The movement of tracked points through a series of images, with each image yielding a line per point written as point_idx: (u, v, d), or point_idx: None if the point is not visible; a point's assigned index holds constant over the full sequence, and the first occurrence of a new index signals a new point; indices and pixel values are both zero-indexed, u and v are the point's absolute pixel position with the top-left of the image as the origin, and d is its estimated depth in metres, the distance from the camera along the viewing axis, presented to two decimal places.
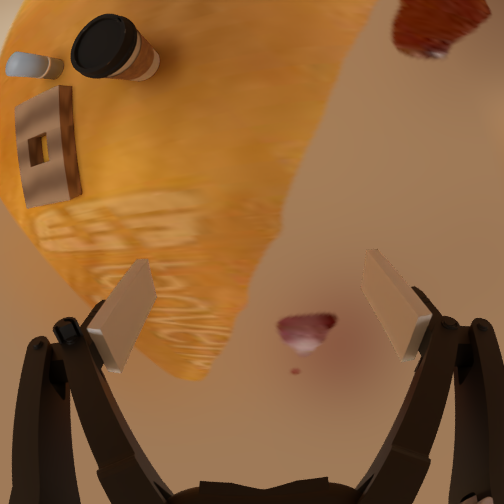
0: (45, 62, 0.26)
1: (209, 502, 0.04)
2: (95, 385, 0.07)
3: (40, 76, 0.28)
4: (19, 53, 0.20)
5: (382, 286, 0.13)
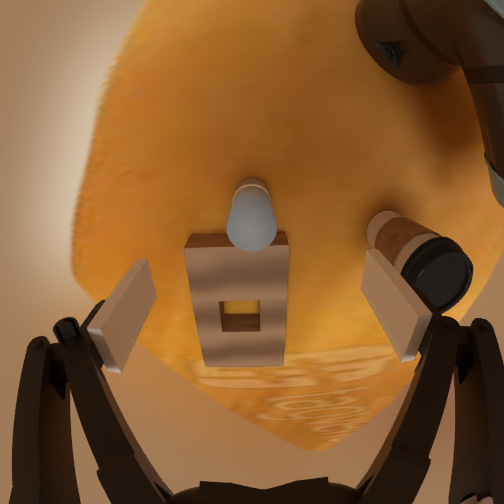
0: None
1: (209, 502, 0.04)
2: (95, 385, 0.07)
3: None
4: (269, 213, 0.22)
5: (382, 286, 0.13)
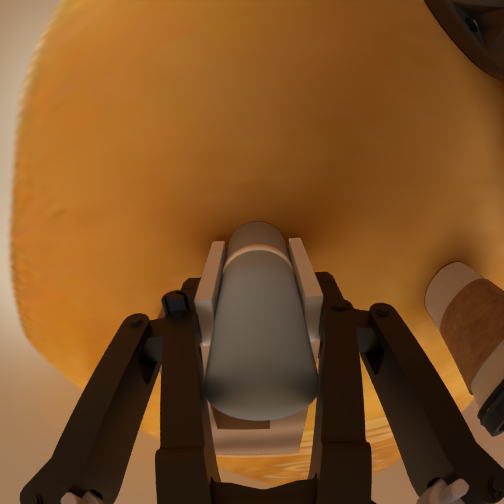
0: None
1: None
2: (190, 365, 0.08)
3: None
4: (306, 368, 0.08)
5: (294, 271, 0.15)
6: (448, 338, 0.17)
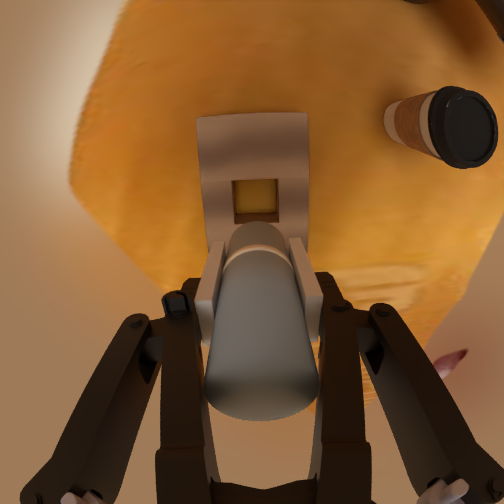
0: None
1: None
2: (190, 365, 0.08)
3: None
4: (306, 369, 0.08)
5: (294, 271, 0.15)
6: (400, 127, 0.26)
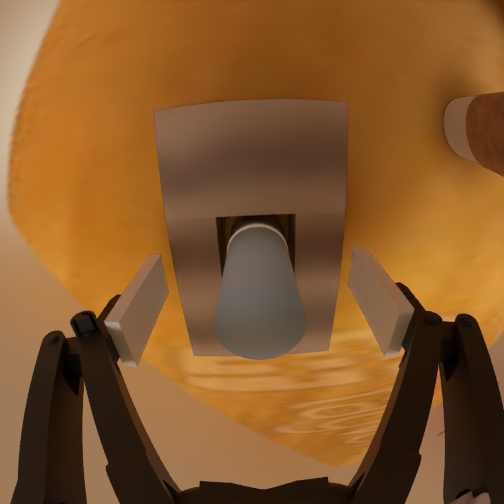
0: None
1: (209, 502, 0.04)
2: (110, 380, 0.08)
3: None
4: (294, 304, 0.11)
5: (367, 282, 0.14)
6: (479, 137, 0.14)
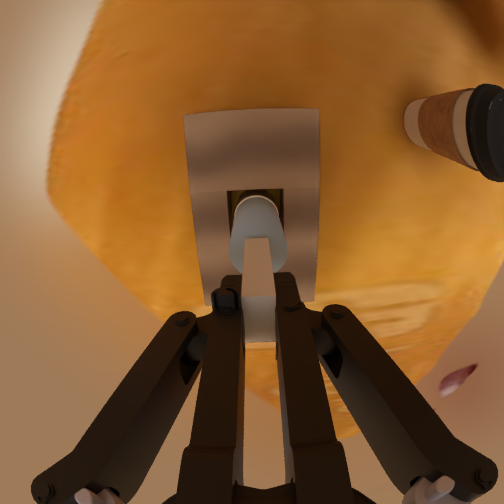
0: None
1: None
2: (232, 364, 0.08)
3: None
4: (279, 234, 0.18)
5: None
6: (426, 129, 0.21)
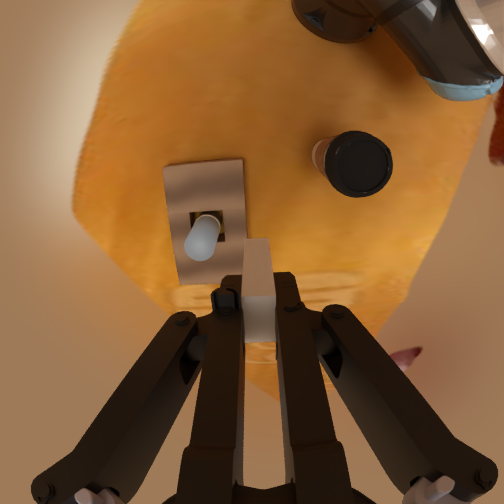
0: (218, 229, 0.41)
1: None
2: (232, 364, 0.08)
3: None
4: (209, 237, 0.35)
5: None
6: (317, 164, 0.38)
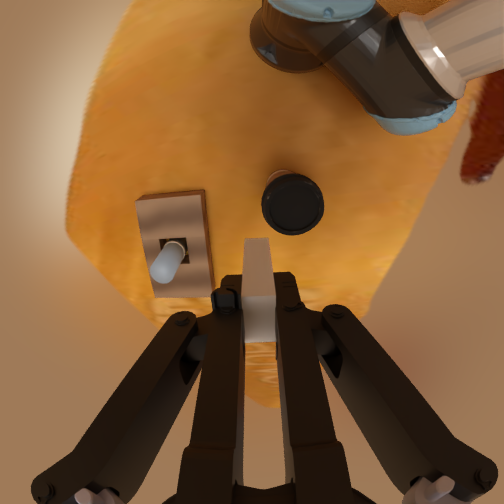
0: (182, 254, 0.48)
1: None
2: (232, 364, 0.08)
3: None
4: (169, 265, 0.42)
5: None
6: None
